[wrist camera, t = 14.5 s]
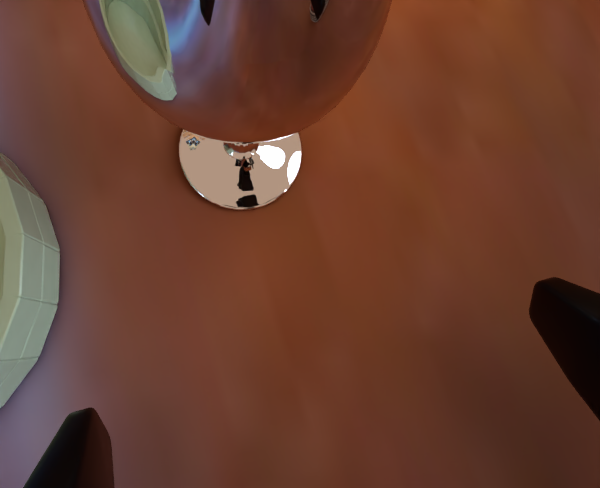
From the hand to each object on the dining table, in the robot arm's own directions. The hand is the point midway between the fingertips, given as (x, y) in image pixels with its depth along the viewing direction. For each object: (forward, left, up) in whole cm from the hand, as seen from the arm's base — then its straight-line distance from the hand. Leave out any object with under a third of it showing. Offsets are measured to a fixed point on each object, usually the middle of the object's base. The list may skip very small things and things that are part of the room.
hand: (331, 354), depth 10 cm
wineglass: (+7, +2, -8) cm, 11 cm away
